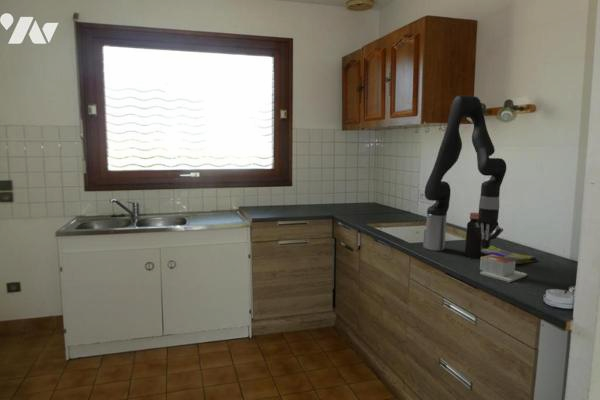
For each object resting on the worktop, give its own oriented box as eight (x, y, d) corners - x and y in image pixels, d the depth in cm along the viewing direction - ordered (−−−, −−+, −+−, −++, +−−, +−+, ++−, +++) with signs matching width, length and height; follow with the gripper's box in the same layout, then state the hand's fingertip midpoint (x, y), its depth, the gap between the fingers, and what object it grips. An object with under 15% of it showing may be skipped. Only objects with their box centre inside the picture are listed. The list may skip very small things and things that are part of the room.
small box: (492, 254, 180) (516, 260, 171) (491, 267, 180) (515, 273, 172) (480, 256, 175) (504, 263, 167) (479, 269, 176) (503, 276, 167)
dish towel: (491, 249, 214) (492, 244, 214) (539, 262, 194) (540, 256, 193) (468, 253, 206) (468, 248, 205) (515, 267, 185) (516, 261, 185)
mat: (479, 274, 173) (480, 272, 173) (497, 268, 181) (498, 266, 181) (509, 282, 164) (509, 280, 164) (526, 275, 172) (527, 273, 172)
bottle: (462, 253, 204) (466, 212, 201) (477, 253, 203) (480, 212, 200) (467, 257, 197) (470, 214, 194) (482, 257, 197) (486, 215, 194)
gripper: (468, 205, 178) (465, 246, 181) (499, 210, 168) (496, 253, 170) (478, 204, 183) (475, 244, 185) (509, 208, 172) (505, 250, 175)
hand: (485, 248), depth 178 cm, fingers closed
